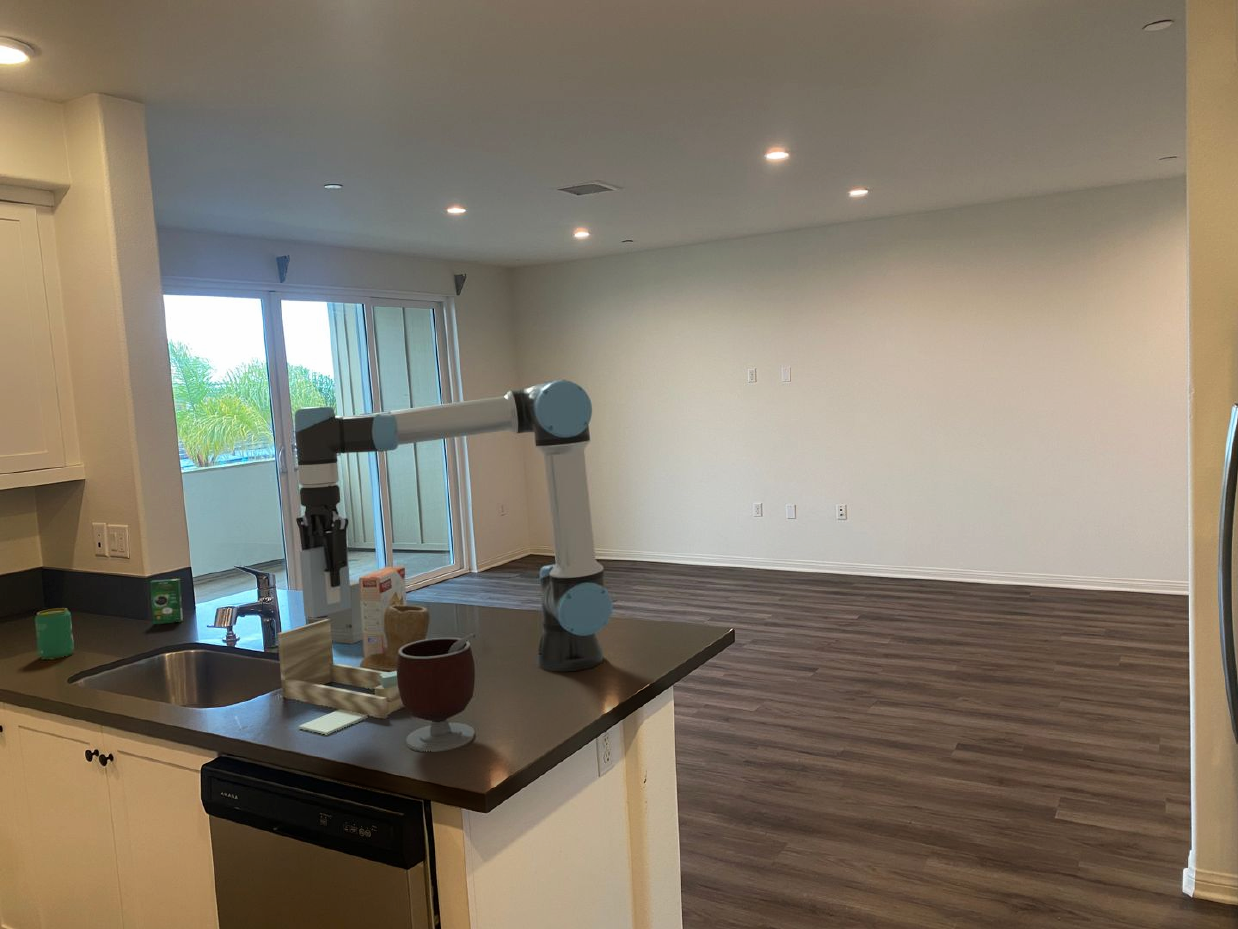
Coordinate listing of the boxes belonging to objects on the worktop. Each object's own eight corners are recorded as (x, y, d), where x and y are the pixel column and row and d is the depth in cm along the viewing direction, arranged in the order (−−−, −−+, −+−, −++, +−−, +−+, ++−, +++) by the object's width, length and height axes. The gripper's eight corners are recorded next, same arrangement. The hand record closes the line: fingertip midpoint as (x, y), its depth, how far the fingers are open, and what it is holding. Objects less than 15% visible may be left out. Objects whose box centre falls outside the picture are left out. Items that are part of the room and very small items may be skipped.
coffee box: (184, 620, 272) (180, 577, 271) (182, 622, 269) (178, 579, 268) (155, 623, 270) (151, 580, 269) (152, 625, 267) (148, 582, 266)
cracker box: (386, 664, 215) (380, 577, 213) (363, 663, 216) (356, 577, 214) (411, 647, 228) (405, 565, 227) (389, 647, 230) (383, 566, 228)
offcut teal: (408, 682, 184) (407, 673, 184) (383, 687, 182) (383, 678, 182) (404, 678, 187) (403, 669, 187) (380, 683, 185) (379, 674, 184)
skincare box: (327, 643, 237) (322, 583, 235) (345, 635, 243) (340, 578, 242) (353, 644, 234) (348, 584, 232) (370, 637, 240) (366, 578, 239)
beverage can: (78, 654, 238) (74, 610, 237) (44, 662, 232) (39, 616, 232) (69, 649, 244) (64, 606, 243) (35, 657, 238) (30, 612, 237)
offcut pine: (413, 691, 187) (412, 679, 187) (390, 702, 180) (389, 690, 180) (398, 689, 188) (397, 677, 188) (375, 700, 182) (374, 688, 182)
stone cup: (443, 664, 212) (439, 601, 211) (412, 679, 201) (408, 613, 200) (391, 659, 218) (386, 598, 217) (358, 674, 207) (353, 610, 206)
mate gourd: (386, 749, 161) (378, 640, 159) (429, 722, 174) (422, 620, 172) (461, 758, 155) (454, 644, 154) (500, 728, 168) (493, 623, 167)
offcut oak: (418, 701, 187) (417, 690, 187) (389, 716, 179) (388, 704, 179) (399, 699, 190) (398, 687, 190) (369, 713, 182) (369, 701, 182)
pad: (367, 718, 178) (367, 715, 178) (326, 735, 169) (326, 732, 169) (340, 712, 182) (340, 709, 182) (299, 729, 174) (298, 726, 174)
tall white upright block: (351, 607, 183) (347, 544, 182) (314, 618, 175) (309, 552, 174) (341, 606, 184) (337, 543, 183) (304, 616, 177) (299, 551, 176)
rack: (430, 698, 188) (426, 632, 187) (383, 719, 177) (378, 649, 176) (331, 679, 204) (326, 619, 203) (282, 697, 193) (277, 633, 192)
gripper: (361, 483, 176) (369, 601, 178) (309, 482, 185) (317, 594, 187) (329, 487, 170) (338, 610, 172) (277, 486, 179) (286, 602, 181)
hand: (327, 601), depth 180 cm, fingers closed on tall white upright block, 3 cm apart
